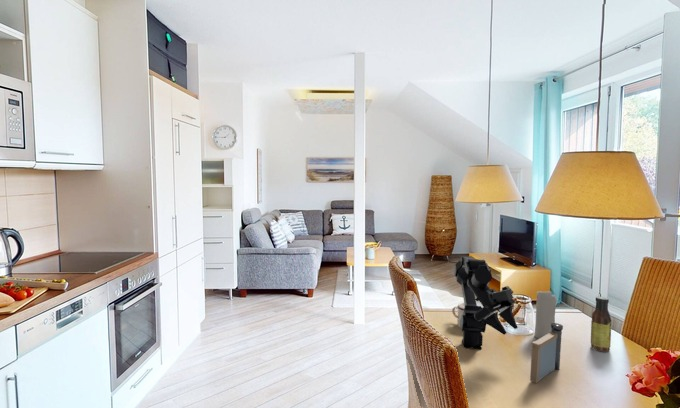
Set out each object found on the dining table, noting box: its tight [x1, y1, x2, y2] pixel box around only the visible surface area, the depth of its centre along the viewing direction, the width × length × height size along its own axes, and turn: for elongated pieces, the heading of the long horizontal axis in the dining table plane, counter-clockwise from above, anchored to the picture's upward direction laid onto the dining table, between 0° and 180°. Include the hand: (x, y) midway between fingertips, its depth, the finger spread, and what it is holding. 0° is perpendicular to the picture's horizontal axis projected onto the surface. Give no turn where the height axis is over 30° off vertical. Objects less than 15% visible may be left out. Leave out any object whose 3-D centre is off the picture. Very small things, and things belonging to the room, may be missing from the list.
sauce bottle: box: [590, 296, 612, 353], centre depth 141 cm, size 6×6×20 cm
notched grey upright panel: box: [534, 290, 558, 340], centre depth 153 cm, size 7×14×20 cm, turn 124°
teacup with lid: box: [451, 301, 465, 329], centre depth 162 cm, size 12×9×12 cm
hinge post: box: [551, 322, 564, 371], centre depth 126 cm, size 4×4×15 cm
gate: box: [529, 332, 557, 384], centre depth 121 cm, size 14×2×12 cm, turn 129°
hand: (511, 331), depth 126 cm, fingers open, 7 cm apart
